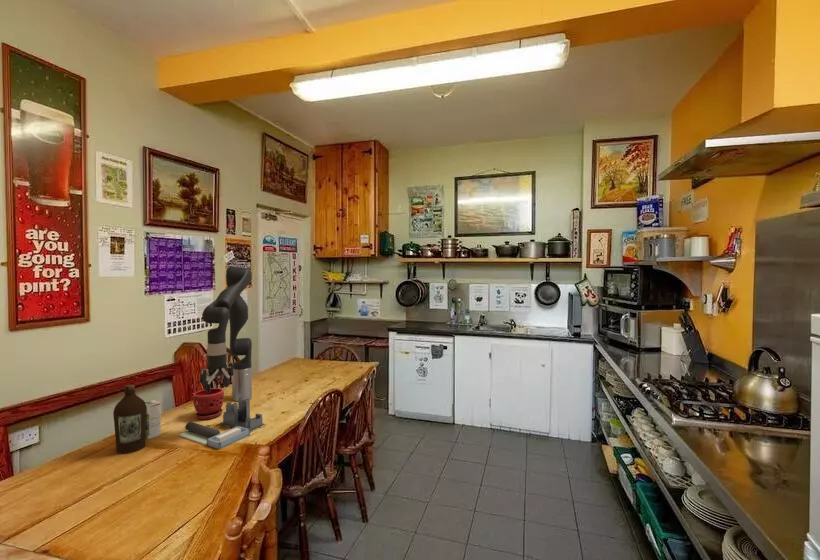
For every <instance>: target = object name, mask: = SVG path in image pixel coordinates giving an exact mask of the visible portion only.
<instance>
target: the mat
mask: <svg viewBox="0 0 820 560" xmlns="http://www.w3.org/2000/svg"><path fill="white" fill-rule="evenodd" d="M220 433H223V432H221V431H220ZM177 436H178V437H180V438H183V439H186V440H189V441H192V442H194V443H198V444H201V445H203V446H207V439H208V438H210V437H206V436H203V435H200V434H197V433H194V432H191V431H188V430H186V431H184V432H182V433H180V434H178V435H177Z"/></svg>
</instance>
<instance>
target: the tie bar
mask: <svg viewBox="0 0 820 560" xmlns="http://www.w3.org/2000/svg"><path fill="white" fill-rule="evenodd" d="M229 430H230V429H229ZM222 433H223V432H222ZM239 433H241V429H240V428H235V429H233V430H230V431H228V432H226V433H223V434H221V435H219V436H216V441H218V442H221V441H223V440H225V439H227V438H230V437H232V436H234V435H237V434H239Z"/></svg>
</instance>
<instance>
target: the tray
mask: <svg viewBox="0 0 820 560" xmlns="http://www.w3.org/2000/svg"><path fill="white" fill-rule="evenodd" d="M235 428H240V429H241V433H239V434H237V435H234V436H232V437H230V438H227V439H225V440H223V441H221V442H218V441H216V436H219V435H221V434H223V433H226V432H228V431H230V430H233V429H235ZM235 428H231V429H227V430H225V431H223V432H222V433H220V434H218V435H216V436H213V437H211V438H208V439H207V445H206V446H208V447H210V448H214V449H217V450H221V449H223V448H225V447H227V446H230V445H232V444H234V443H237V442H239V441H240V440H244V439H245V438H247V437H249V435H250V436H251V432H250V429H247V428H243V427H240V426H237V427H235Z"/></svg>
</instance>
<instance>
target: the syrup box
mask: <svg viewBox="0 0 820 560" xmlns="http://www.w3.org/2000/svg"><path fill="white" fill-rule="evenodd" d="M144 402H145V404H146V407H147V411H146V440H150V439H153V438H156V437H159V436H160V435H161V433H162V429H161V428H162V424H161V423H162V419H161V416H162V415H161V401H158V400H154V399H152V400H147V401H144Z"/></svg>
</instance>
